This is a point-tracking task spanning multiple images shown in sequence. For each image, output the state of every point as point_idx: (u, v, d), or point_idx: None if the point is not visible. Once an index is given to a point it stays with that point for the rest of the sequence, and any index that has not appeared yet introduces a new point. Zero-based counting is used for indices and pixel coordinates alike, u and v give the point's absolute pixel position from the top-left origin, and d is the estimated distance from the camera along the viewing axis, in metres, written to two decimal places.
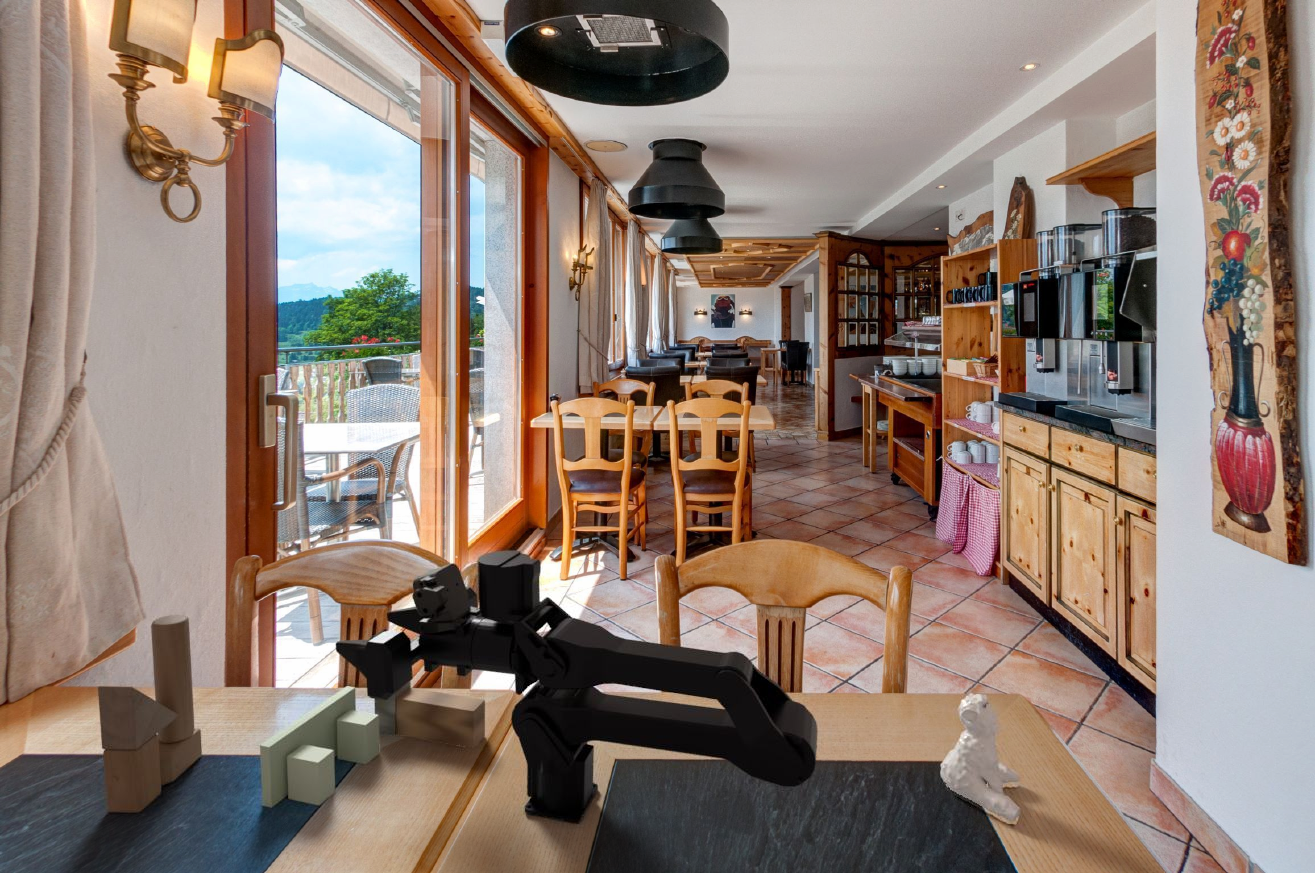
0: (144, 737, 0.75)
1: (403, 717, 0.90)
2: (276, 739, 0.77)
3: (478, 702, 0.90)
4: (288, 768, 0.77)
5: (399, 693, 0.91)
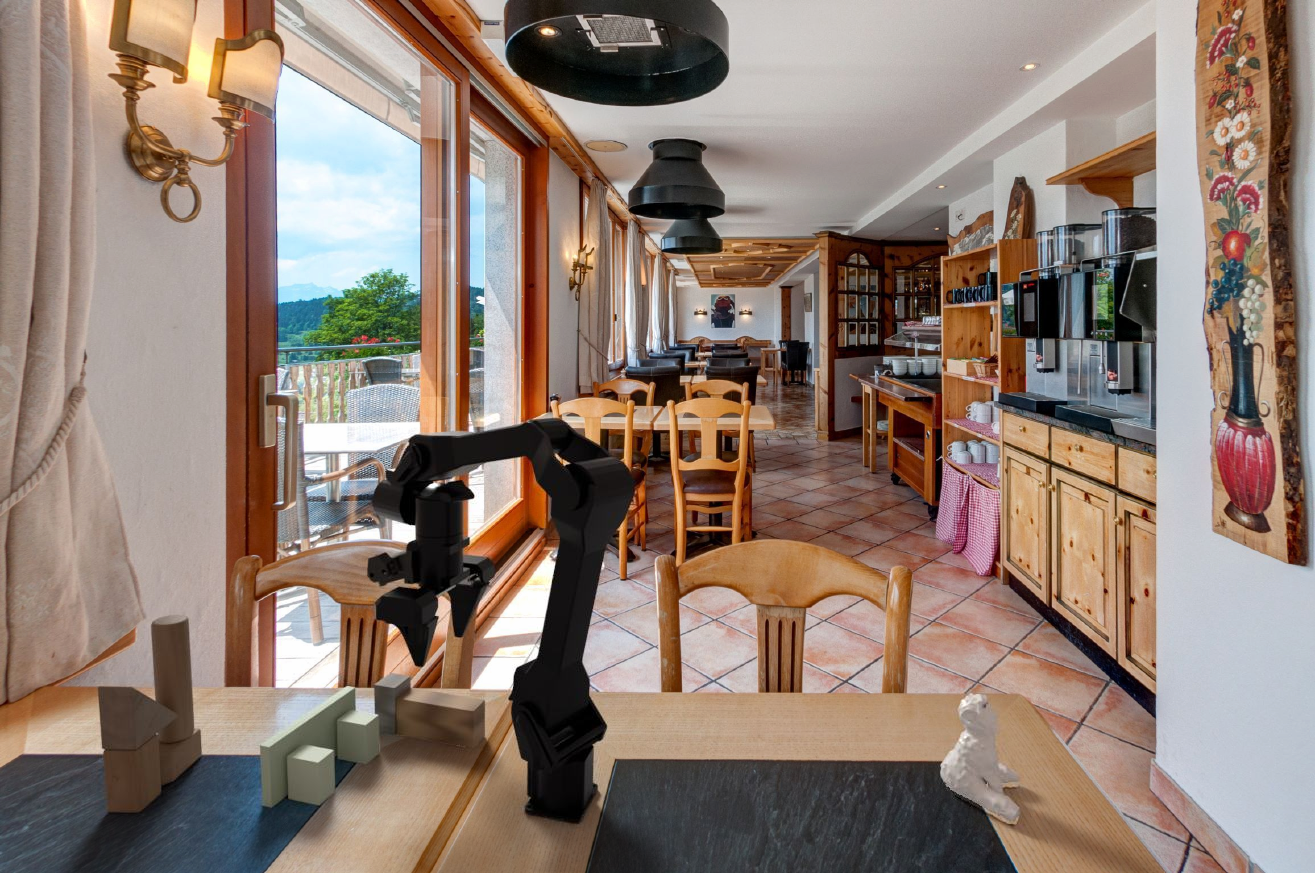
0: (144, 737, 0.75)
1: (403, 717, 0.90)
2: (276, 739, 0.77)
3: (478, 702, 0.90)
4: (288, 768, 0.77)
5: (399, 693, 0.91)
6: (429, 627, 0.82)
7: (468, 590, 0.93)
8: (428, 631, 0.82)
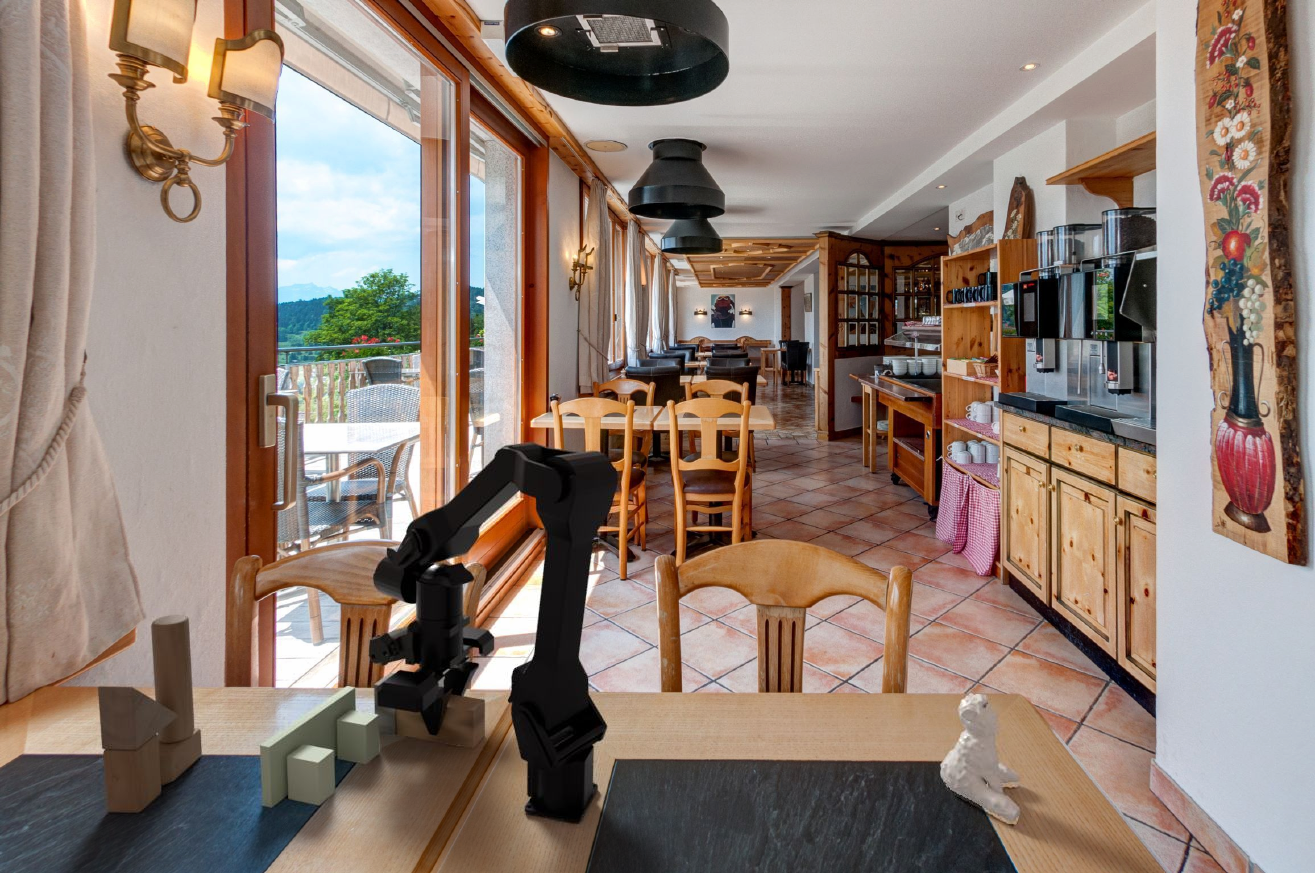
0: (144, 737, 0.75)
1: (403, 717, 0.90)
2: (276, 739, 0.77)
3: (478, 702, 0.90)
4: (288, 768, 0.77)
5: None
6: (443, 700, 0.86)
7: (457, 674, 0.92)
8: (442, 703, 0.86)
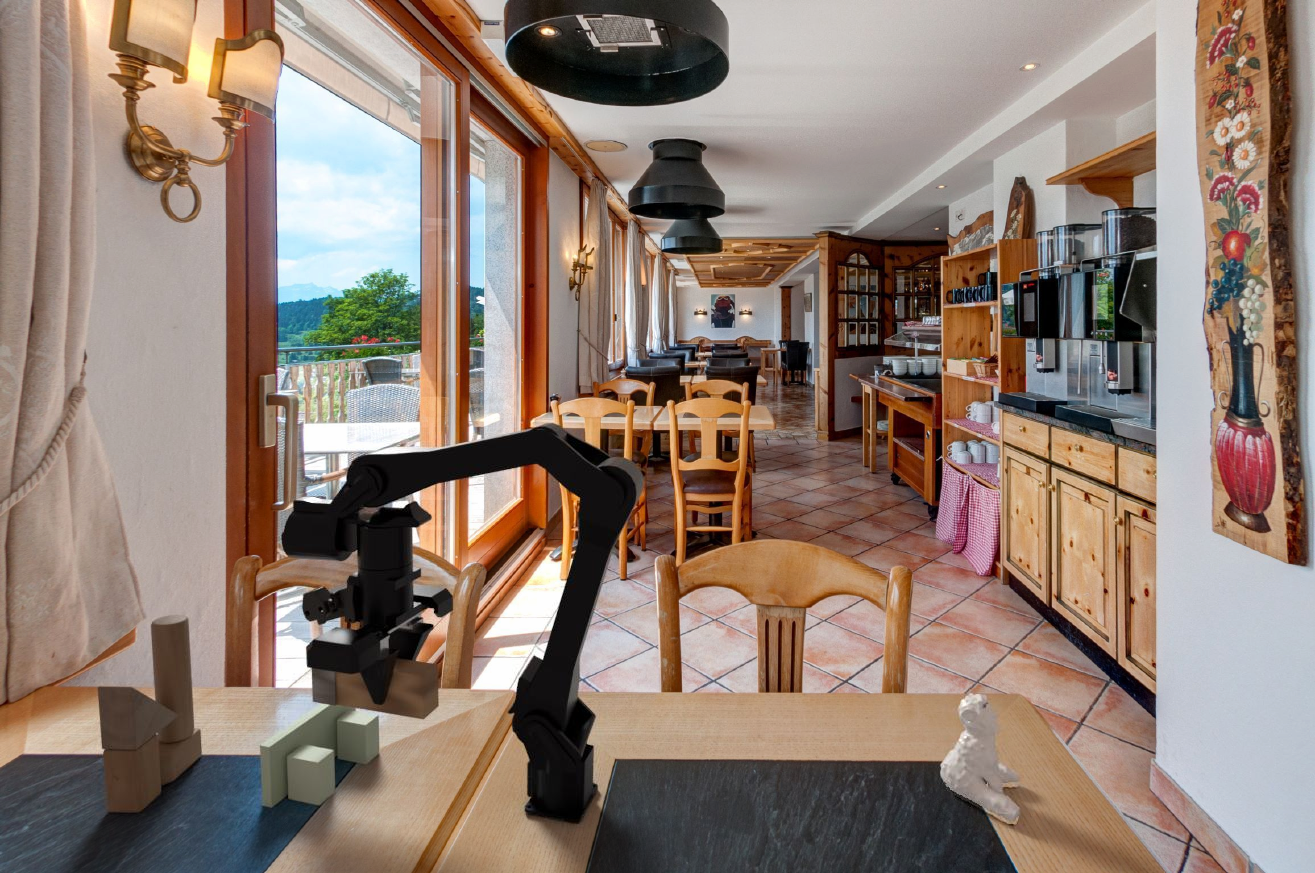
0: (144, 737, 0.75)
1: (344, 684, 0.79)
2: (276, 739, 0.77)
3: (430, 666, 0.78)
4: (288, 768, 0.77)
5: None
6: (387, 663, 0.74)
7: (407, 636, 0.80)
8: (386, 667, 0.74)
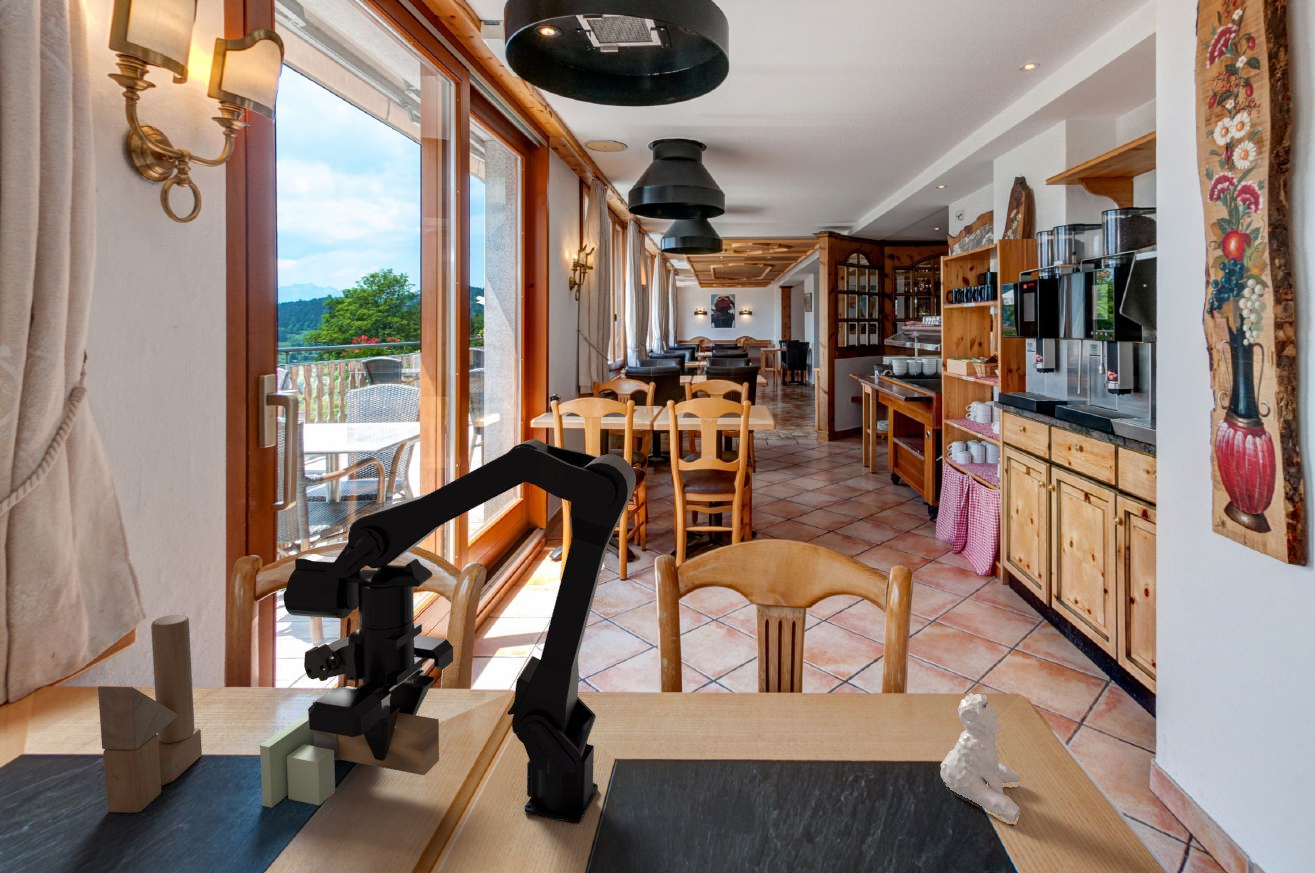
0: (144, 737, 0.75)
1: (345, 739, 0.79)
2: (276, 739, 0.77)
3: (430, 722, 0.79)
4: (288, 768, 0.77)
5: None
6: (388, 721, 0.75)
7: (408, 690, 0.81)
8: (387, 725, 0.75)
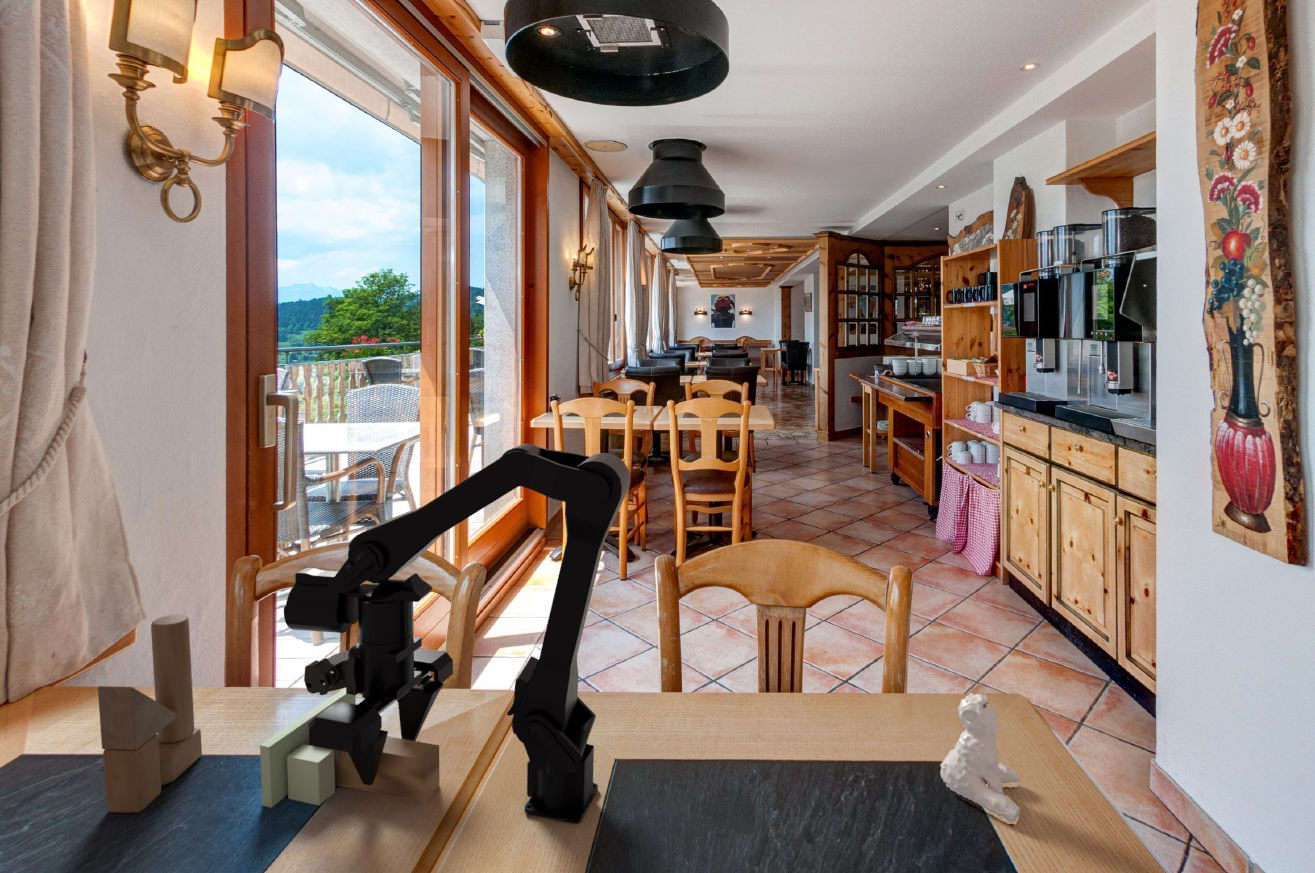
0: (144, 737, 0.75)
1: (346, 765, 0.80)
2: (276, 739, 0.77)
3: (431, 748, 0.79)
4: (288, 768, 0.77)
5: None
6: (376, 746, 0.73)
7: (418, 695, 0.83)
8: (375, 750, 0.73)
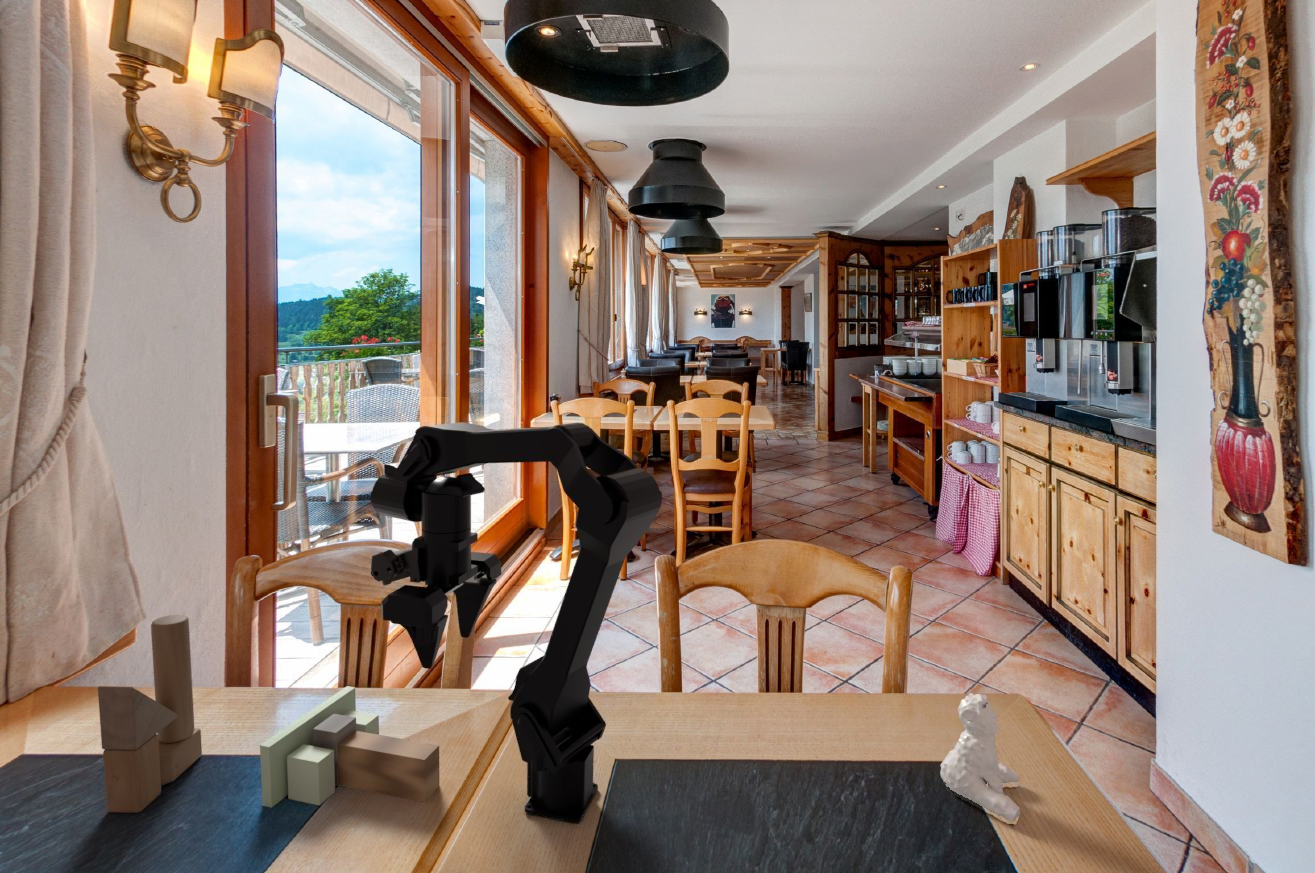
0: (144, 737, 0.75)
1: (346, 765, 0.80)
2: (276, 739, 0.77)
3: (431, 748, 0.79)
4: (288, 768, 0.77)
5: (342, 738, 0.80)
6: (439, 627, 0.78)
7: (475, 588, 0.90)
8: (437, 631, 0.79)
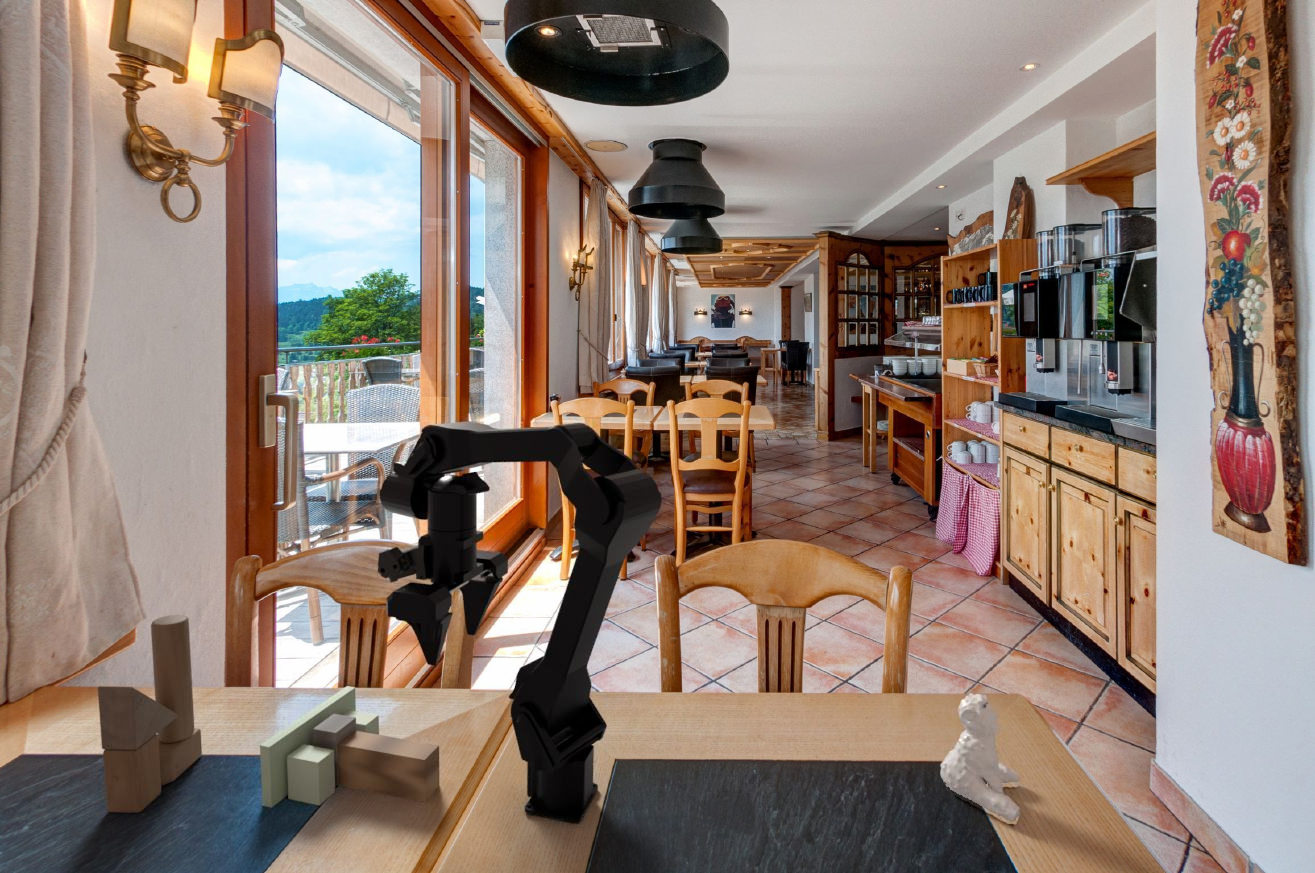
0: (144, 737, 0.75)
1: (346, 765, 0.80)
2: (276, 739, 0.77)
3: (431, 748, 0.79)
4: (288, 768, 0.77)
5: (342, 738, 0.80)
6: (443, 624, 0.79)
7: (481, 586, 0.91)
8: (441, 628, 0.79)
